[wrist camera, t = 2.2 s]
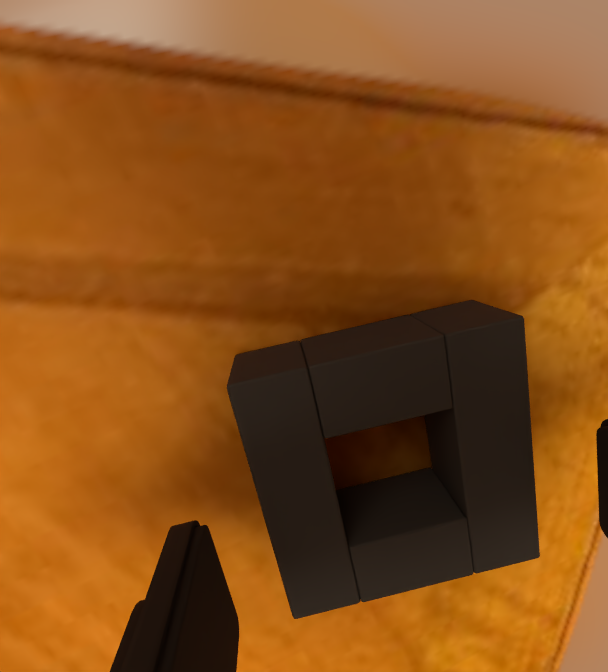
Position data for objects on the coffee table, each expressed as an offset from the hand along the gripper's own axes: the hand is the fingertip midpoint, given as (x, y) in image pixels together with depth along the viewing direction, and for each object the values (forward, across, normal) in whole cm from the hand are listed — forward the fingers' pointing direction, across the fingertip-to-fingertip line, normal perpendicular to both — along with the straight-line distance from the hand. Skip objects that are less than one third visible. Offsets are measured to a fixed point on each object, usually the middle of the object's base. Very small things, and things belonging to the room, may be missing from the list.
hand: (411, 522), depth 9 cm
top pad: (+3, 0, -1) cm, 3 cm away
